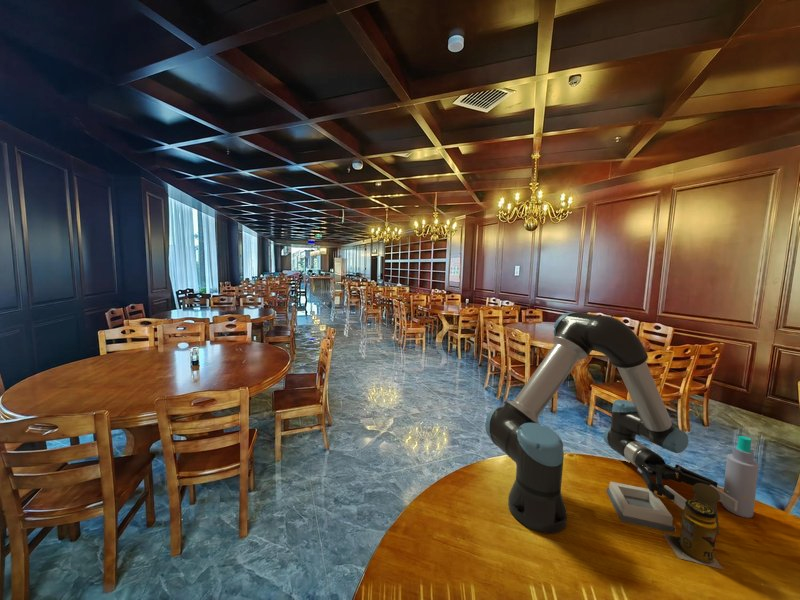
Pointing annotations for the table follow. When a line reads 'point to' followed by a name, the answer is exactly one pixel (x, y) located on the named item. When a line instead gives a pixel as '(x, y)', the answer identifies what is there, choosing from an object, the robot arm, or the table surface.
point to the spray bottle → (741, 477)
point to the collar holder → (640, 507)
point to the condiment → (696, 534)
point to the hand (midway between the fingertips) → (712, 506)
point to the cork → (707, 497)
